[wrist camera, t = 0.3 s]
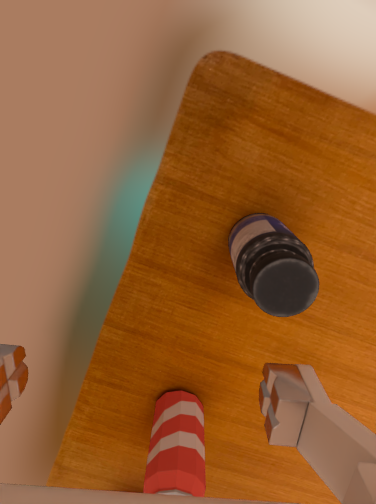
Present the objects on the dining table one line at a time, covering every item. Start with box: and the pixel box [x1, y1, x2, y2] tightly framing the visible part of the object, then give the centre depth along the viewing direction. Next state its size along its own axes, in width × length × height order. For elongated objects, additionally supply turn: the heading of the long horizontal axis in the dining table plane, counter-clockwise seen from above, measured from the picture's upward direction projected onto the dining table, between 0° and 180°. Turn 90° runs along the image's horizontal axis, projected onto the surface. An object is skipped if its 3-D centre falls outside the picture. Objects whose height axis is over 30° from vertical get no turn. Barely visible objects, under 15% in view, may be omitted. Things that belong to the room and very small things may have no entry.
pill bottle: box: [228, 213, 319, 317], centre depth 26 cm, size 6×6×11 cm
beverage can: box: [143, 390, 206, 497], centre depth 34 cm, size 6×6×12 cm
